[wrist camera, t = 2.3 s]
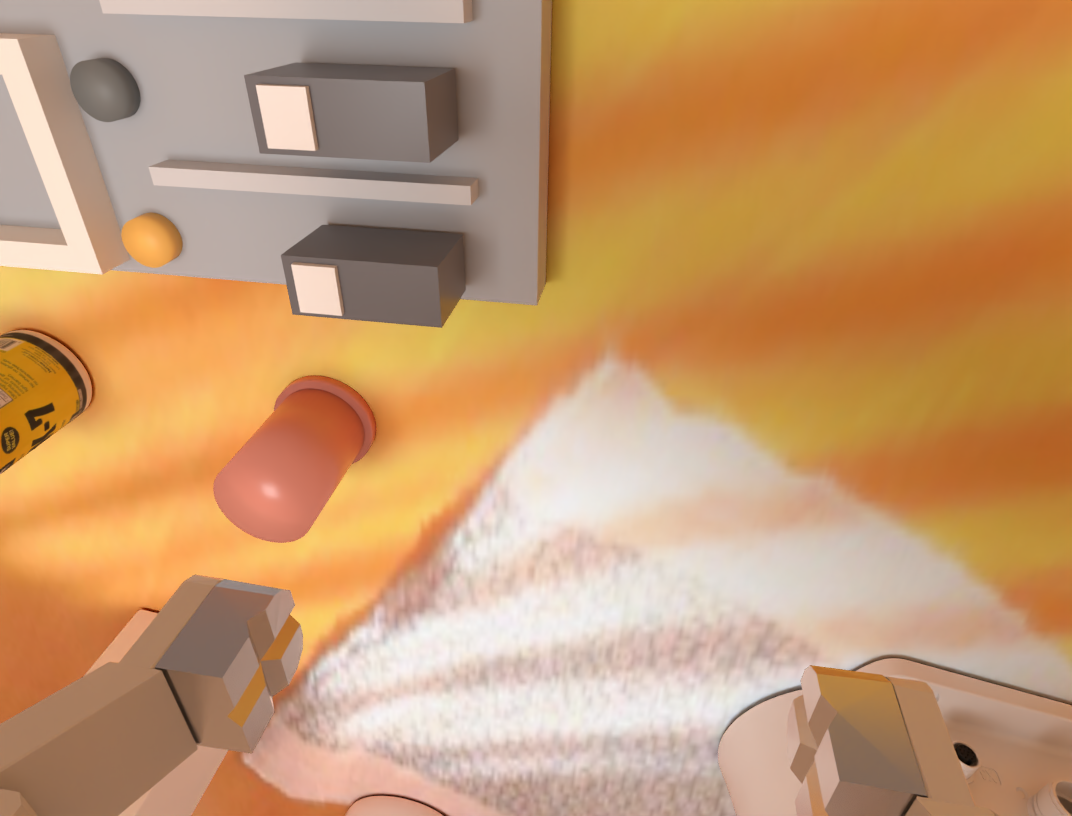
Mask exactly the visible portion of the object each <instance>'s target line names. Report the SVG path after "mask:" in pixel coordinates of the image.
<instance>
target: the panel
mask: <svg viewBox="0 0 1072 816" xmlns="http://www.w3.org/2000/svg"><path fill="white" fill-rule="evenodd" d="M551 28H552V0H0V266H10V267H22V268H34V269H46V270H58V271H70V272H81V273H93V274H104V273H106V272H108V271H110V270H117V271H129V272H141V273H153V274H165V275H177V276H190V277H202V278H214V279H226V280H238V281H250V282H262V283H274V284H286V279H285V274H284V269H283V264H282V259H281V254H283V253H284V252H286V251H287V250H288V249H290V248H291V247H292V246H294V245H295V244H296V243H298V242H299V241H301V240H302V239H303V238H305V237H306V236H307V235H309V234H310V233H312V232H313V231H314V230H316V229H317V228H318V227H320V226H321V225H336V226H350V227H365V228H379V229H393V230H408V231H422V232H436V233H451V234H463V242H464V263H465V284H466V290H465V292H464V294H463V295H462V297H461V298H460V299H467V300H479V301H491V302H503V303H515V304H527V305H537V304H538V302H539V299H540V297H541V294H542V292H543V289H544V287H545V284H546V249H547V204H548V160H549V116H550V72H551ZM295 62H298V63H325V64H353V65H380V66H408V67H435V68H455V74H456V95H457V116H458V137H459V140H458V141H457V142H455V143H454V144H453V145H452V146H451V147H449V148H448V149H447V150H446V151H444V152H443V153H442V154H441V155H439V156H438V157H437V158H436V159H434V160H433V161H432V162H431V163H422V162H404V161H386V160H368V159H350V158H332V157H314V156H297V155H279V154H261V153H260V152H259V147H258V142H257V137H256V132H255V127H254V122H253V118H252V113H251V108H250V103H249V98H248V93H247V88H246V83H245V78H244V75H247V74H251V73H255V72H259V71H263V70H267V69H271V68H275V67H279V66H283V65H287V64H291V63H295ZM286 285H287V284H286Z"/></svg>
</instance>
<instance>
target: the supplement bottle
mask: <svg viewBox="0 0 1072 816" xmlns="http://www.w3.org/2000/svg"><path fill="white" fill-rule="evenodd" d="M91 397H92V385H91V381H90V377H89V375H88V373H87V371H86V369H85V368H84V366H83V365H82V363H81V362H80V361H79V359H78V358H77V357H76V356H75V355H74V354H73V353H72V352H71V351H70V350H69V349H67V348H66V347H65V346H63V345H62V344H61V343H59V342H57V341H56V340H54V339H52V338H50V337H48V336H46V335H43V334H41V333H38V332H34V331H30V330H15V331H11V332H8V333H5V334H3V335H1V336H0V474H1V473H3V472H4V471H5V470H7V469H8V468H9V467H11V466H12V465H13V464H15V463H16V462H17V461H19V460H20V459H21V458H23V457H24V456H25V455H27V454H28V453H29V452H30V451H32V450H33V449H35V448H36V447H37V446H38V445H40V444H41V443H42V442H44V441H45V440H46V439H48V438H49V437H50V436H52V435H53V434H54V433H56V432H57V431H58V430H60V429H61V428H62V427H64V426H65V425H67V424H68V423H69V422H71V421H72V420H73V419H75V418H76V417H77V416H79V415H80V414H81V413H82V412H83V411H85V409H86V408H87V407H88V405H89V404H90V401H91Z"/></svg>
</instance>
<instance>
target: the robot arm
mask: <svg viewBox="0 0 1072 816" xmlns="http://www.w3.org/2000/svg"><path fill="white" fill-rule="evenodd" d="M294 606H295V604H294V601H293V598H292V595H291V592H290V590H284V589H278V588H272V587H266V586H261V585H255V584H249V583H243V582H237V581H231V580H226V579H220V578H213V577H207V576H200V575H194V576H192V577H190V578H189V579H187V580H186V581H184V582H183V583H182V584H181V585H180V587H179V588H178V589H177V590H176V592H175V593H174V594H173V595H172V597H171V598H170V599H169V600H168V602H167V603H166V604H165V606H164V607H163V608H162V609H161V611H160V612H159V613H158V614H157V616H156V617H155V618H154V619H153V621H152V622H151V623H150V624H149V626H148V627H147V628H146V629H145V631H144V632H143V633H142V634H141V636H140V637H139V638H138V639H137V641H136V642H135V643H134V644H133V646H132V647H131V648H130V649H129V651H128V652H127V653H126V654H125V656H124V657H123V658H122V659H121V661H120V662H119V663H117V662H108V663H106V664H105V665H103V666H101V667H99V668H98V669H96V670H94V671H92V672H91V673H89V674H87V675H85V676H84V677H82V678H80V679H78V680H77V681H75V682H73V683H71V684H70V685H68V686H66V687H64V688H63V689H61V690H59V691H57V692H56V693H54V694H52V695H50V696H49V697H47V698H45V699H43V700H42V701H40V702H38V703H36V704H35V705H33V706H31V707H29V708H28V709H26V710H24V711H22V712H21V713H19V714H17V715H15V716H14V717H12V718H10V719H8V720H7V721H5V722H3V723H1V724H0V816H118V815H120V814H121V813H122V812H123V811H124V810H126V809H127V808H128V807H129V806H130V805H132V804H133V803H134V802H135V801H136V800H138V799H139V798H140V797H141V796H142V795H144V794H145V793H146V792H147V791H148V790H150V789H151V788H152V787H153V786H154V785H156V784H157V783H158V782H159V781H160V780H162V779H163V778H164V777H165V776H166V775H168V774H169V773H170V772H171V771H172V770H174V769H175V768H176V767H177V766H178V765H180V764H181V763H182V762H183V761H184V760H186V759H187V758H188V757H189V756H190V755H192V754H193V753H194V752H195V751H196V750H198V746H197V745H199V746H205V747H212V748H219V749H225V750H232V751H239V752H245V753H253V751H254V749H255V747H256V745H257V743H258V742H259V740H260V738H261V736H262V734H263V732H264V730H265V729H266V727H267V725H268V723H269V721H270V719H271V717H272V715H273V714H274V706H273V700H272V696H274V695H275V694H277V693H278V692H280V691H281V690H282V689H284V688H285V687H287V686H288V685H289V683H290V681H291V679H292V677H293V675H294V673H295V672H296V670H297V667H298V664H299V660H300V656H301V652H302V649H303V634H302V630H301V626H300V624H299V623H298V622H297V621H296V620H295V619H294V618H293V617H292V616H291V615H290V613H291V611H292V609H293V607H294ZM801 686H802V690H798V691H794V692H790V693H786V694H783V695H780V696H777V697H775V698H772V699H769V700H767V701H765V702H763V703H760V704H759V705H757V706H755V707H753V708H751V709H750V710H748V711H747V712H745V713H744V714H742V715H741V716H740V717H739V718H737V719H736V720H735V721H734V722H733V723H732V724H731V725H730V726H729V728H728V729H727V730H726V732H725V733H724V735H723V737H722V739H721V741H720V744H719V748H718V762H719V767H720V770H721V772H722V775H723V777H724V780H725V782H726V785H727V788H728V791H729V794H730V797H731V800H732V803H733V806H734V810H735V813H736V816H1072V705H1069V704H1065V703H1061V702H1058V701H1054V700H1050V699H1047V698H1043V697H1040V696H1036V695H1032V694H1029V693H1025V692H1021V691H1018V690H1014V689H1010V688H1007V687H1003V686H1000V685H996V684H992V683H989V682H985V681H981V680H978V679H974V678H971V677H967V676H963V675H960V674H956V673H952V672H949V671H945V670H941V669H938V668H934V667H931V666H927V665H923V664H920V663H916V662H912V661H909V660H905V659H898V658H889V659H883V660H879V661H876V662H873V663H871V664H868V665H866V666H864V667H862V668H860V669H858V670H856V671H850V670H842V669H835V668H827V667H819V666H812V665H810V666H809V667H807V668H806V669H805V671H804V673H803V676H802V678H801Z"/></svg>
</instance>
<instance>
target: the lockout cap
mask: <svg viewBox="0 0 1072 816" xmlns="http://www.w3.org/2000/svg"><path fill="white" fill-rule="evenodd" d="M375 435H376V423H375V418H374V416H373V413H372V411H371V409H370V407H369V406H368V404H367V403H366V401H365V400H364V399H363V398H362V397H361V396H360V395H359V394H358V393H357V392H356V391H355V390H353V389H352V388H351V387H349V386H348V385H346V384H344V383H342V382H340V381H338V380H335V379H332V378H329V377H324V376H306V377H302V378H299V379H296V380H295V381H293V382H292V383H290V384H289V385H288V386H287V387H286V388H285V389H284V391H283V392H282V393H281V394H280V395H279V397H278V398H277V400H276V403H275V408H274V412H273V413H272V414H271V416H270V417H269V418H268V419H267V420H266V421H265V422H264V423H263V425H262V426H261V427H260V428H259V429H258V430H257V431H256V432H255V433H254V435H253V436H252V437H251V438H250V439H249V440H248V441H247V442H246V444H245V445H244V446H243V447H242V448H241V449H240V450H239V451H238V452H237V454H236V455H235V456H234V457H233V458H232V459H231V460H230V461H229V463H228V464H227V465H226V466H225V467H224V468H223V469H222V470H221V471H220V473H219V474H218V475H217V477H216V479H215V482H214V488H213V489H214V496H215V499H216V502H217V504H218V506H219V508H220V509H221V511H222V512H223V513H224V515H225V516H226V517H227V518H228V519H229V520H230V521H231V522H232V523H233V524H234V525H236V526H237V527H238V528H240V529H241V530H243V531H244V532H246V533H248V534H250V535H252V536H254V537H256V538H259V539H262V540H266V541H270V542H278V543H284V542H291V541H295V540H297V539H300V538H301V537H303V536H304V535H305V534H306V533H307V532H308V531H309V529H310V528H311V526H312V525H313V523H314V521H315V520H316V518H317V517H318V515H319V514H320V512H321V511H322V509H323V507H324V506H325V504H326V503H327V501H328V500H329V498H330V497H331V495H332V493H333V492H334V490H335V489H336V487H337V486H338V484H339V483H340V481H341V480H342V478H343V476H344V475H345V473H346V472H347V470H348V469H349V467H350V466H351V464H353V463H355V462H357V461H359V460H360V459H361V458H362V457H363V456H364V455H365V454H366V453H367V451H368V450H369V448H370V447H371V445H372V443H373V441H374V439H375Z"/></svg>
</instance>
